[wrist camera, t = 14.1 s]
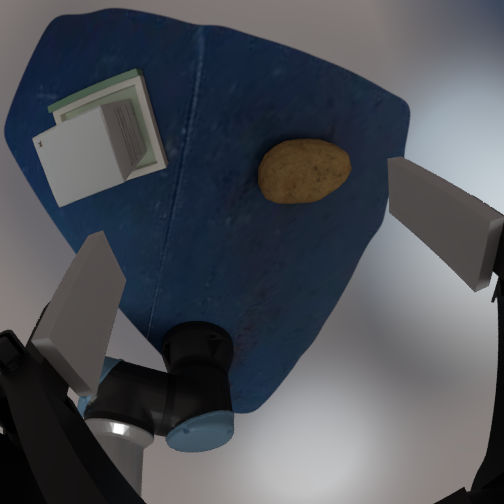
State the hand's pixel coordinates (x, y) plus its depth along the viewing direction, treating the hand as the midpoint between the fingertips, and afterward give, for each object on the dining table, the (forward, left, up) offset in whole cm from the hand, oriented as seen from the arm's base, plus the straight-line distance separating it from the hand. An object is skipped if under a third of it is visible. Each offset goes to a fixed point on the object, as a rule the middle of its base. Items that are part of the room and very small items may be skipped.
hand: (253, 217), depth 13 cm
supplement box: (+3, +16, -34) cm, 38 cm away
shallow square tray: (+3, +16, -35) cm, 38 cm away
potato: (-9, -10, -35) cm, 38 cm away
